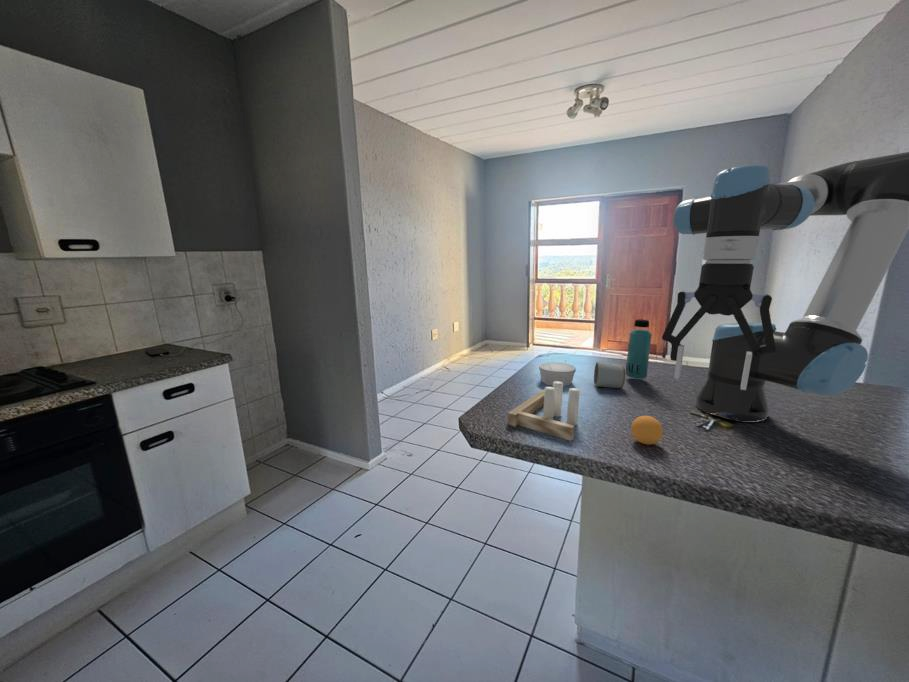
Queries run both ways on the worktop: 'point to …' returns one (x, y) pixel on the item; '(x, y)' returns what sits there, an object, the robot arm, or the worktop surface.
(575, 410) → the front pin
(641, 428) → the ball
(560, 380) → the ramekin
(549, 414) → the pin
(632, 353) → the beverage bottle
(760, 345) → the robot arm
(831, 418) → the worktop surface
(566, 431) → the triangular peg stand
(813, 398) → the worktop surface
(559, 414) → the pin
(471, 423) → the worktop surface
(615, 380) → the ceramic mug
